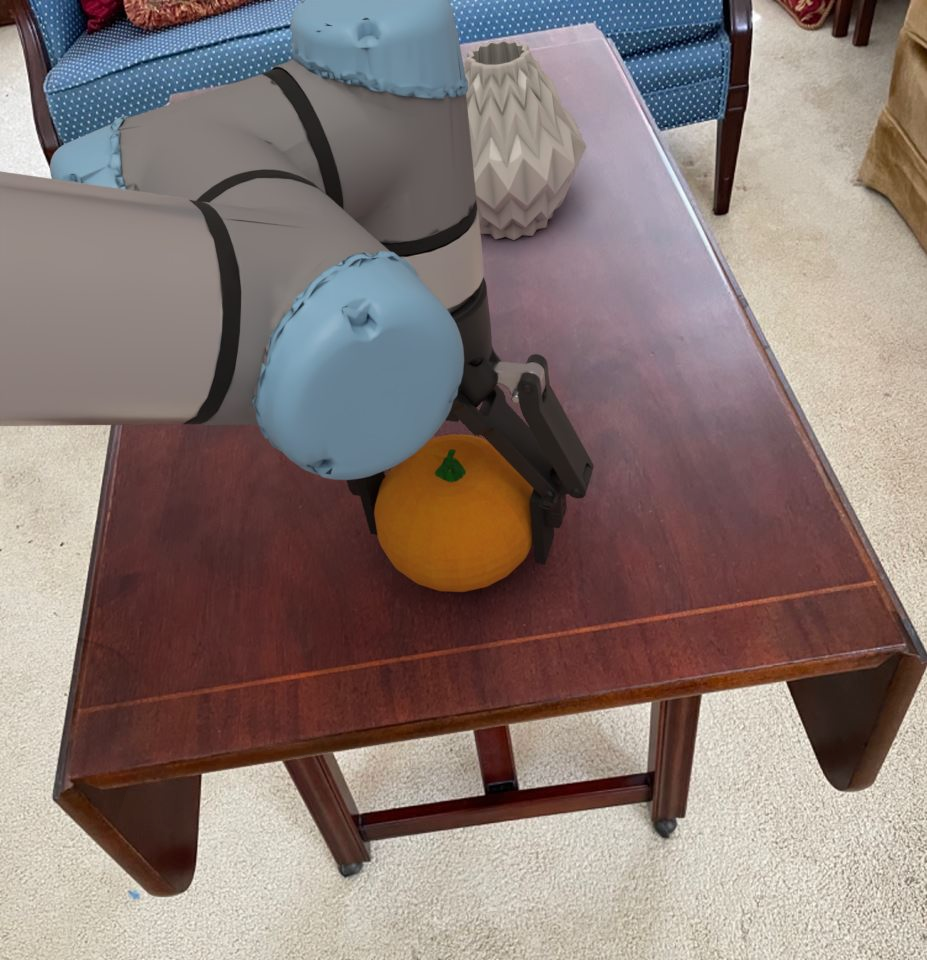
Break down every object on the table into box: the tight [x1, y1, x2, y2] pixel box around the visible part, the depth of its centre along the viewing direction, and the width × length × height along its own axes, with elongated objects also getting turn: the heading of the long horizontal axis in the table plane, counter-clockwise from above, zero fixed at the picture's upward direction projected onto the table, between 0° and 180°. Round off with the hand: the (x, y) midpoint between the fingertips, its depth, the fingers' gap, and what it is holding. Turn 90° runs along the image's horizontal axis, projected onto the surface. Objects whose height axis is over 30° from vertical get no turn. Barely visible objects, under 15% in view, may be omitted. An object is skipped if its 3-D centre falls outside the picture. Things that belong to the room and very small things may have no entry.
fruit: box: [374, 433, 534, 593], centre depth 66 cm, size 12×12×10 cm
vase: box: [464, 38, 587, 241], centre depth 98 cm, size 16×16×18 cm
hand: (461, 535), depth 68 cm, fingers closed on fruit, 12 cm apart
